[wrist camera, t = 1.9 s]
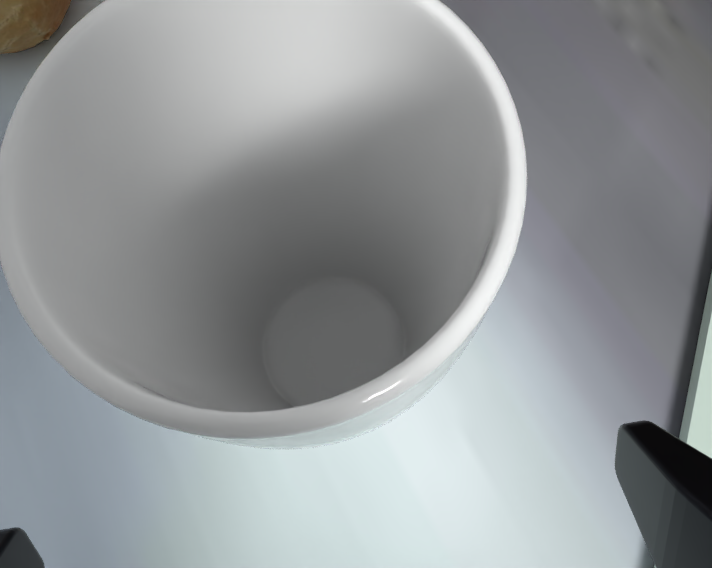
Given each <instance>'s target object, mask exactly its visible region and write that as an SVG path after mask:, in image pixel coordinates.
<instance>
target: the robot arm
mask: <svg viewBox="0 0 712 568" xmlns="http://www.w3.org/2000/svg"><path fill="white" fill-rule="evenodd" d="M615 470H616V474H617V478H618V480H619V483H620V485H621V487H622V490H623V492H624V494H625V497H626V499H627V501H628V504H629V506H630V508H631V511H632V513H633V515H634V517H635V520H636V522H637V524H638V527H639V529H640V531H641V534H642V536H643V538H644V541H645V543H646V545H647V548H648V550H649V552H650V555H651V557H652V559H653V561H654V564H655V566H656V568H712V458H710V457H709V456H707V455H705V454H704V453H702V452H700V451H699V450H697V449H695V448H694V447H692V446H690V445H689V444H687V443H685V442H684V441H682V440H680V439H679V438H677V437H675V436H674V435H672V434H670V433H669V432H667V431H666V430H664V429H662V428H661V427H659V426H657V425H656V424H654V423H652V422H649V421H638V422H632V423H626V424H623V425H621V426H620V428H619V430H618V436H617V445H616V455H615ZM0 568H45V567H44V563H43V560H42V558H41V557H40V555H39V553H38V552H37V550H36V549H35V547H34V545H33V544H32V542H31V541H30V539H29V537H28V536H27V534H26V533H25V531H24V530H22V529H20V528H16V527H15V528H9V529H3V530H0Z"/></svg>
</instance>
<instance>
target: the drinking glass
mask: <svg viewBox="0 0 712 568" xmlns="http://www.w3.org/2000/svg"><path fill="white" fill-rule="evenodd" d="M526 192H527V165H526V151H525V145H524V139H523V133H522V128H521V124H520V121H519V117H518V114H517V110H516V107H515V104H514V101H513V99H512V96H511V94H510V91H509V89H508V86H507V84H506V82H505V80H504V78H503V76H502V75H501V73H500V71H499V69H498V67H497V65H496V63H495V62H494V60H493V59H492V57H491V56H490V54H489V53H488V51H487V50H486V48H485V47H484V45H483V44H482V43H481V41H480V40H479V39H478V38H477V37H476V35H475V34H474V33H473V32H472V31H471V29H470V28H469V27H468V26H467V25H466V24H465V23H464V22H463V21H462V20H461V19H460V18H459V17H458V16H457V15H456V14H455V13H454V12H453V11H452V10H451V9H449V8H448V7H447V6H446V5H445V4H443V3H442V2H441V1H440V0H104V1H103V2H102V3H100V4H99V5H98V6H96V7H95V8H94V9H92V10H91V11H90V12H89V13H87V14H86V15H85V16H84V17H83V18H82V19H81V20H80V21H79V22H77V23H76V24H75V25H74V26H73V27H72V28H71V29H70V30H69V31H68V32H67V33H66V34H65V35H64V36H63V37H62V38H61V39H60V40H59V42H58V43H57V44H56V45H55V46H54V47H53V48H52V50H51V51H50V52H49V54H48V55H47V56H46V57H45V59H44V60H43V61H42V62H41V64H40V65H39V67H38V68H37V70H36V71H35V73H34V74H33V76H32V77H31V79H30V80H29V82H28V84H27V85H26V87H25V89H24V91H23V93H22V95H21V97H20V98H19V100H18V102H17V104H16V107H15V109H14V111H13V114H12V116H11V118H10V121H9V123H8V126H7V129H6V132H5V135H4V138H3V142H2V145H1V148H0V262H1V266H2V270H3V273H4V276H5V278H6V281H7V284H8V287H9V290H10V292H11V294H12V296H13V299H14V301H15V303H16V305H17V307H18V309H19V311H20V313H21V315H22V316H23V318H24V320H25V321H26V323H27V324H28V326H29V327H30V329H31V331H32V332H33V334H34V335H35V337H36V338H37V339H38V341H39V342H40V343H41V344H42V345H43V347H44V348H45V349H46V350H47V352H48V353H49V354H50V355H51V357H52V358H53V359H54V360H55V361H56V362H57V363H58V364H59V365H60V366H62V367H63V368H64V369H65V370H66V371H67V372H68V373H69V374H70V375H71V376H72V377H73V378H74V379H76V380H77V381H78V382H80V383H81V384H82V385H83V386H85V387H86V388H87V389H88V390H90V391H91V392H92V393H94V394H96V395H97V396H99V397H100V398H102V399H104V400H105V401H107V402H108V403H110V404H112V405H113V406H115V407H117V408H119V409H121V410H123V411H125V412H127V413H129V414H131V415H134V416H136V417H138V418H140V419H142V420H145V421H148V422H151V423H154V424H156V425H159V426H162V427H165V428H168V429H172V430H177V431H181V432H185V433H188V434H191V435H194V436H198V437H202V438H206V439H210V440H215V441H219V442H223V443H227V444H232V445H238V446H246V447H254V448H263V449H302V448H314V447H320V446H325V445H331V444H336V443H339V442H343V441H346V440H350V439H353V438H356V437H359V436H361V435H364V434H366V433H369V432H371V431H374V430H375V429H377V428H379V427H381V426H383V425H385V424H387V423H389V422H391V421H392V420H394V419H395V418H397V417H398V416H400V415H401V414H403V413H404V412H406V411H407V410H409V409H410V408H411V407H413V406H414V405H415V404H416V403H417V402H419V401H420V400H421V399H422V398H424V397H425V396H426V395H427V394H428V393H429V392H430V391H431V390H432V389H433V388H434V387H435V386H436V385H437V384H438V383H439V382H440V381H441V380H442V379H443V377H444V376H445V375H446V374H447V373H448V371H449V370H450V369H451V368H452V367H453V365H454V364H455V363H456V362H457V360H458V359H459V358H460V356H461V355H462V353H463V352H464V350H465V349H466V347H467V346H468V344H469V343H470V341H471V340H472V338H473V337H474V335H475V334H476V332H477V330H478V328H479V327H480V325H481V323H482V321H483V319H484V317H485V315H486V313H487V311H488V310H489V308H490V306H491V304H492V302H493V301H494V299H495V297H496V295H497V293H498V291H499V289H500V287H501V285H502V283H503V281H504V279H505V277H506V275H507V272H508V270H509V267H510V265H511V262H512V260H513V257H514V255H515V251H516V248H517V244H518V240H519V237H520V233H521V230H522V224H523V218H524V212H525V206H526Z"/></svg>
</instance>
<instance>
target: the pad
mask: <svg viewBox="0 0 712 568" xmlns="http://www.w3.org/2000/svg"><path fill="white" fill-rule="evenodd" d="M679 439H680V440H682V441H684V442H685V443H687V444H689V445H690V446H692V447H694V448H695V449H697V450H699V451H700V452H702V453H704V454H705V455H707V456H709V457H710V458H712V271H711V277H710V282H709V287H708V292H707V297H706V302H705V307H704V312H703V318H702V323H701V328H700V333H699V338H698V343H697V348H696V354H695V359H694V364H693V369H692V374H691V379H690V384H689V389H688V395H687V400H686V405H685V410H684V415H683V420H682V425H681V430H680V436H679ZM654 568H656V566H655V564H654Z"/></svg>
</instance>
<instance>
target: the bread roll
mask: <svg viewBox="0 0 712 568" xmlns="http://www.w3.org/2000/svg"><path fill="white" fill-rule="evenodd" d="M70 2H71V0H0V54H5V53H15V52H19V51H22V50H25V49H28V48H31V47H34V46H35V45H37V44H39V43H40V42H42V41H43V40H49V38H50V36H51V35H52V34H53V33H54V32H55V31H56V30H57V29H58V27H59V26H60V24H61V23H62V20H63V18H64V16H65V14H66V12H67V9H68V7H69V5H70Z"/></svg>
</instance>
